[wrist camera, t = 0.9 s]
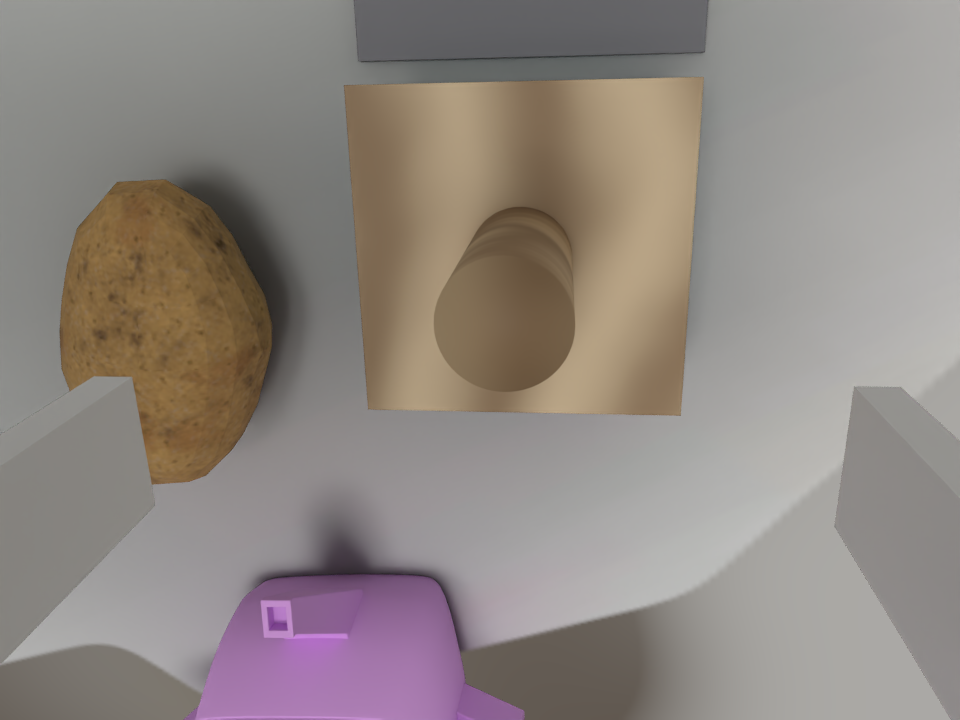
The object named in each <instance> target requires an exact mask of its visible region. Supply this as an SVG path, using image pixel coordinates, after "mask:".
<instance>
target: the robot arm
mask: <svg viewBox="0 0 960 720" xmlns="http://www.w3.org/2000/svg"><path fill="white" fill-rule="evenodd" d="M154 506H155V500H154V494H153V489H152V483H151V478H150V473H149V467H148V462H147V456H146V451H145V445H144V440H143V434H142V429H141V423H140V418H139V413H138V407H137V402H136V396H135V391H134V385H133V380H132V377H103V376H94V377H92V378H91V379H89V380H87V381H86V382H84V383H83V384H81V385H79V386H78V387H76V388H74V389H73V390H71V391H70V392H68V393H66V394H65V395H63V396H62V397H60V398H58V399H57V400H55V401H54V402H52V403H50V404H49V405H47V406H46V407H44V408H42V409H41V410H39V411H38V412H36V413H34V414H33V415H31V416H30V417H28V418H26V419H25V420H23V421H22V422H20V423H18V424H17V425H15V426H14V427H12V428H10V429H9V430H7V431H6V432H4V433H2V434H1V435H0V665H1V664H2V663H3V661H4V660H5V659H6V658H7V657H8V656H9V655H10V654H11V653H12V652H13V651H14V650H15V649H16V648H17V647H18V646H19V645H20V644H21V643H22V642H23V641H24V640H25V639H26V638H27V637H28V636H29V635H30V634H31V633H32V632H33V631H34V630H35V629H36V628H37V626H38V625H39V624H40V623H41V622H42V621H43V620H44V619H45V618H46V617H47V616H48V615H49V614H50V613H51V612H52V611H53V610H54V609H55V608H56V607H57V606H58V605H59V604H60V603H61V602H62V601H63V600H64V599H65V598H66V597H67V596H68V595H69V594H70V593H71V591H72V590H73V589H74V588H75V587H76V586H77V585H78V584H79V583H80V582H81V581H82V580H83V579H84V578H85V577H86V576H87V575H88V574H89V573H90V572H91V571H92V570H93V569H94V568H95V567H96V566H97V565H98V564H99V563H100V562H101V561H102V560H103V559H104V558H105V556H106V555H107V554H108V553H109V552H110V551H111V550H112V549H113V548H114V547H115V546H116V545H117V544H118V543H119V542H120V541H121V540H122V539H123V538H124V537H125V536H126V535H127V534H128V533H129V532H130V531H131V530H132V529H133V528H134V527H135V526H136V525H137V524H138V522H139V521H140V520H141V519H142V518H143V517H144V516H145V515H146V514H147V513H148V512H149V511H150V510H151V509H152V508H153V507H154ZM835 528H836V530H837V531H838V533H839V535H840V536H841V538H842V540H843V541H844V543H845V545H846V546H847V548H848V550H849V551H850V553H851V555H852V556H853V558H854V560H855V561H856V563H857V565H858V566H859V568H860V570H861V571H862V573H863V575H864V576H865V578H866V580H867V581H868V583H869V585H870V586H871V588H872V589H873V591H874V593H875V594H876V596H877V598H878V599H879V601H880V603H881V604H882V606H883V608H884V609H885V611H886V613H887V614H888V616H889V618H890V619H891V621H892V623H893V624H894V626H895V627H896V629H897V631H898V633H899V634H900V636H901V638H902V639H903V641H904V643H905V644H906V646H907V648H908V649H909V651H910V653H911V654H912V656H913V657H914V659H915V661H916V663H917V664H918V666H919V667H920V669H921V671H922V672H923V674H924V676H925V677H926V679H927V681H928V682H929V684H930V686H931V687H932V689H933V691H934V692H935V694H936V696H937V697H938V699H939V701H940V702H941V704H942V706H943V707H944V709H945V710H946V712H947V714H948V715H949V717H950V719H951V720H960V441H959V440H958V439H957V438H956V437H955V436H954V435H953V434H952V433H951V432H950V431H948V430H947V429H946V428H945V427H944V426H943V425H942V424H941V423H940V422H939V421H938V420H936V419H935V418H934V417H933V416H932V415H931V414H930V413H929V412H928V411H926V410H925V409H924V408H923V407H922V406H921V405H920V404H919V403H918V402H917V401H916V400H915V399H913V398H912V397H911V396H910V395H909V394H908V393H907V392H906V391H905V390H904V389H902V388H901V387H855V386H854V392H853V399H852V406H851V413H850V420H849V427H848V434H847V441H846V448H845V455H844V462H843V469H842V476H841V483H840V490H839V497H838V505H837V512H836V519H835Z"/></svg>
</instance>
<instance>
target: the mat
mask: <svg viewBox="0 0 960 720" xmlns="http://www.w3.org/2000/svg"><path fill="white" fill-rule="evenodd" d="M354 8H355V22H356V37H357V51H358V61H361V62H362V61H400V60H438V59H476V58H514V57H552V56H590V55H628V54H666V53H703V52H705V39H706V25H707V10H708V0H354Z"/></svg>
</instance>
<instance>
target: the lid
mask: <svg viewBox="0 0 960 720" xmlns="http://www.w3.org/2000/svg"><path fill="white" fill-rule="evenodd" d="M703 82H704V77H680V78H636V79H593V80H550V81H507V82H464V83H420V84H377V85H344V91H345V105H346V118H347V131H348V145H349V158H350V172H351V185H352V198H353V212H354V225H355V239H356V252H357V265H358V279H359V292H360V306H361V319H362V332H363V346H364V359H365V373H366V386H367V399H368V409H375V410H425V411H475V412H525V413H576V414H626V415H676V416H681V403H682V389H683V374H684V359H685V345H686V330H687V316H688V301H689V286H690V272H691V257H692V242H693V228H694V213H695V199H696V184H697V169H698V155H699V140H700V126H701V111H702V96H703Z"/></svg>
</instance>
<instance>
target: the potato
mask: <svg viewBox="0 0 960 720" xmlns="http://www.w3.org/2000/svg"><path fill="white" fill-rule="evenodd" d="M60 348H61V365H62V371H63V374H64V376H65V379H66V382H67V384H68V387H69V390H70V391H71V390H73V389H74V388H76V387H78V386H79V385H81V384H83V383H84V382H86V381H87V380H89V379H91V378H92V377H94V376H103V377H132V380H133V385H134V391H135V396H136V402H137V407H138V413H139V418H140V423H141V429H142V434H143V440H144V445H145V451H146V456H147V462H148V467H149V473H150V478H151V483H152V484H165V483H178V482H190V481H193V480H195V479H198V478H200V477H203V476H206V475H207V474H208V473H209V472H210V471H211V470H212V469H213V468H214V467H215V466H216V465H217V464H218V463H219V462H220V461H221V460H222V459H223V458H224V457H225V456H226V455H227V454H228V453H229V452H230V451H231V450H232V449H233V447H234V446H235V444H236V443H237V442H238V440H239V439H240V438H241V436H242V435H243V433H244V431H245V429H246V427H247V425H248V423H249V421H250V419H251V417H252V415H253V412H254V410H255V408H256V406H257V404H258V400H259V396H260V392H261V388H262V384H263V380H264V376H265V373H266V369H267V365H268V360H269V356H270V352H271V348H272V322H271V318H270V314H269V310H268V306H267V302H266V299H265V295H264V293H263V291H262V290H261V288H260V286H259V284H258V282H257V281H256V279H255V277H254V275H253V273H252V272H251V270H250V268H249V266H248V265H247V263H246V261H245V259H244V257H243V255H242V253H241V251H240V249H239V247H238V245H237V243H236V242H235V240H234V238H233V236H232V234H231V233H230V232H229V230H228V229H227V228H226V226H225V225H224V224H223V223H222V221H221V220H220V219H219V217H218V216H217V215H216V213H215V212H214V211H213V210H212V208H211V207H210V206H209V205H207V204H205V203H204V202H202V201H201V200H199V199H197V198H196V197H194V196H192V195H191V194H189V193H187V192H186V191H184V190H183V189H181V188H179V187H178V186H176V185H174V184H172V183H171V182H169V181H167V180H147V181H128V182H117V183H116V184H115V185H114V186H113V188H112V189H111V190H110V191H109V192H108V193H107V195H106V196H105V197H104V198H103V199H102V201H101V202H100V203H99V204H98V205H97V206H96V207H95V208H94V210H93V211H92V212H91V213H90V214H89V215H88V216H87V218H86V219H85V220H84V221H83V222H82V223H81V224H80V226H79V227H78V228H77V231H76V235H75V238H74V242H73V245H72V249H71V253H70V256H69V260H68V263H67V269H66V275H65V282H64V288H63V295H62V304H61V319H60Z"/></svg>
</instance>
